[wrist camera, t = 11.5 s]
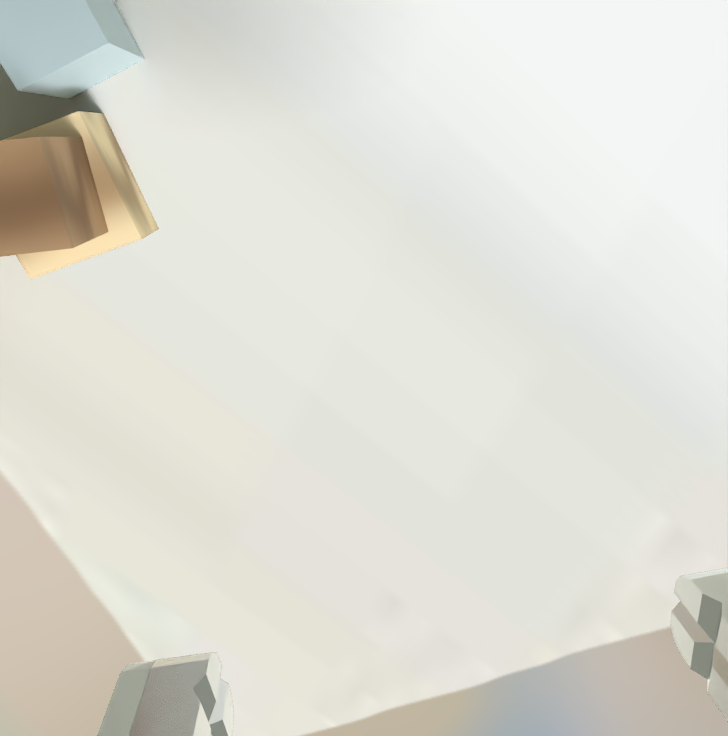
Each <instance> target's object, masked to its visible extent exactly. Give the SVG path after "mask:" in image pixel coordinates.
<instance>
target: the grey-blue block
mask: <svg viewBox="0 0 728 736" xmlns="http://www.w3.org/2000/svg"><path fill="white" fill-rule="evenodd" d="M142 60H144V57H143V55H142V53H141V51H140V49H139V47H138V45H137V44H136V42H135V40H134V38H133V36H132V34H131V32H130V31H129V29H128V27H127V25H126V23H125V21H124V19H123V18H122V16H121V14H120V12H119V10H118V8H117V6H116V5H115V3H114V1H113V0H0V64H1V65H2V67H3V68H4V70H5V71H6V73H7V75H8V76H9V78H10V79H11V81H12V82H13V84H14V86H15V87H16V89H17V90H18V91H23V92H29V93H36V94H42V95H49V96H56V97H62V98H71V97H73V96H75V95H77V94H79V93H81V92H83V91H85V90H87V89H89V88H90V87H92V86H94V85H96V84H98V83H100V82H102V81H104V80H106V79H108V78H110V77H111V76H113V75H115V74H117V73H119V72H121V71H123V70H125V69H127V68H129V67H131V66H133V65H134V64H136V63H138V62H140V61H142Z"/></svg>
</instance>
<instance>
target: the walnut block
mask: <svg viewBox="0 0 728 736" xmlns="http://www.w3.org/2000/svg"><path fill="white" fill-rule="evenodd" d="M107 232H109V231H108V228H107V224H106V221H105V217H104V213H103V210H102V206H101V203H100V199H99V196H98V192H97V188H96V185H95V181H94V178H93V174H92V171H91V167H90V164H89V160H88V156H87V153H86V149H85V146H84V142H83V139H82V137H31V138H22V139H13V140H3V141H0V257H1V256H10V255H18V254H27V253H36V252H44V251H53V250H62V249H71V248H74V247H77V246H79V245H81V244H83V243H85V242H88V241H90V240H92V239H94V238H96V237H98V236H101V235H103V234H105V233H107Z"/></svg>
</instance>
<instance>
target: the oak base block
mask: <svg viewBox="0 0 728 736" xmlns="http://www.w3.org/2000/svg"><path fill="white" fill-rule="evenodd" d="M31 137H82V139H83V142H84V146H85V149H86V153H87V156H88V160H89V164H90V167H91V171H92V174H93V178H94V181H95V185H96V188H97V192H98V196H99V199H100V203H101V206H102V210H103V213H104V217H105V221H106V224H107V228H108V231H109V232H107V233H105V234H103V235H101V236H98V237H96V238H94V239H92V240H90V241H88V242H85V243H83V244H81V245H79V246H77V247H74V248H71V249H62V250H53V251H44V252H36V253H27V254H18V255H16V256H17V258H18V260H19V261H20V263H21V265H22V266H23V268H24V270H25V271H26V273H27V275H28V276H29V278H30V279H32V278H35V277H38V276H41V275H43V274H46V273H49V272H52V271H55V270H57V269H60V268H63V267H66V266H68V265H71V264H74V263H77V262H80V261H82V260H85V259H88V258H91V257H93V256H96V255H99V254H102V253H104V252H107V251H110V250H113V249H116V248H118V247H121V246H124V245H127V244H129V243H132V242H135V241H138V240H141V239H143V238H144V237H146V236H148V235H149V234H151V233H153V232H154V231H156V230H158V229H159V228H158V226H157V224H156V222H155V220H154V218H153V216H152V213H151V211H150V209H149V207H148V205H147V203H146V201H145V199H144V197H143V195H142V193H141V190H140V188H139V186H138V184H137V182H136V180H135V178H134V176H133V174H132V172H131V170H130V168H129V165H128V163H127V161H126V159H125V157H124V155H123V153H122V151H121V149H120V147H119V145H118V143H117V140H116V138H115V136H114V134H113V132H112V130H111V128H110V126H109V124H108V122H107V120H106V118H105V115H104V114H101V113H92V112H82V111H77V112H75V113H72V114H69V115H67V116H64V117H61V118H59V119H56V120H53V121H51V122H48V123H45V124H43V125H40V126H37V127H35V128H32V129H29V130H27V131H24V132H21V133H19V134H16V135H14V136H11V137H8V138H6V139H3V140H13V139H22V138H31ZM3 140H0V141H3Z"/></svg>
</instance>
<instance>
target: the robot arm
mask: <svg viewBox="0 0 728 736" xmlns="http://www.w3.org/2000/svg"><path fill="white" fill-rule="evenodd" d="M674 593H675V594H676V595H677V597H678V598H679V599H680V602H679V604H678V605H677V606H676V607H675V608H674V609H673V610H672V613H671V629H672V633H673V637H674V641H675V644H676V645H677V648H678V649H679V652H680V654H681V655H682V657H683V659H684V660H685V661H686V663H687V664H688V666H689V667H690V668H691V669H692V670H694V671H695V672H697V673H698V674H700V675H702V676H704V677H705V678H707V679H708V689H707V690H708V691H707V693H708V695H709V696H710V697H711V699H712V700H713V702H714V703H715V704H716V706H717V707H718V709H719V710H720V712H721V713H722V714H723V716H724V717H725V719H726V720H727V722H728V568H723V569H717V570H711V571H706V572H700V573H694V574H688V575H683V576H680V577H679V578H678V580H677V581H676V584H675V590H674ZM221 669H222V664H221V661H220V659H219V656H218V654H217V652H211V653H204V654H196V655H189V656H181V657H174V658H166V659H159V660H153V661H146V662H139V663H133V664H127V665H126V667H125V668H124V669H123V671H122V672H121V673H120V675H119V678H118V681H117V684H116V686H115V689H114V692H113V694H112V697H111V700H110V703H109V705H108V708H107V711H106V713H105V716H104V719H103V722H102V724H101V727H100V730H99V732H98V735H97V736H232V733H233V701H232V695H231V691H230V688H229V684H228V683H227V682H225V681H224V680H222V679H221V678H220V675H221Z"/></svg>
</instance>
